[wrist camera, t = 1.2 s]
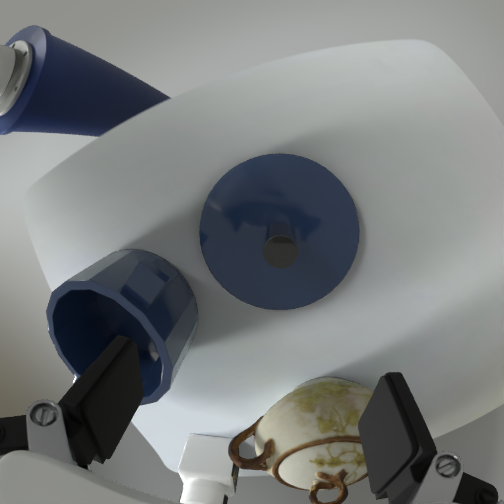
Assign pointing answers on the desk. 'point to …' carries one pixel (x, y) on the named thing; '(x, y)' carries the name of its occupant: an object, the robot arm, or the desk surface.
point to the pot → (126, 316)
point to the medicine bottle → (207, 470)
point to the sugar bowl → (311, 438)
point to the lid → (279, 231)
